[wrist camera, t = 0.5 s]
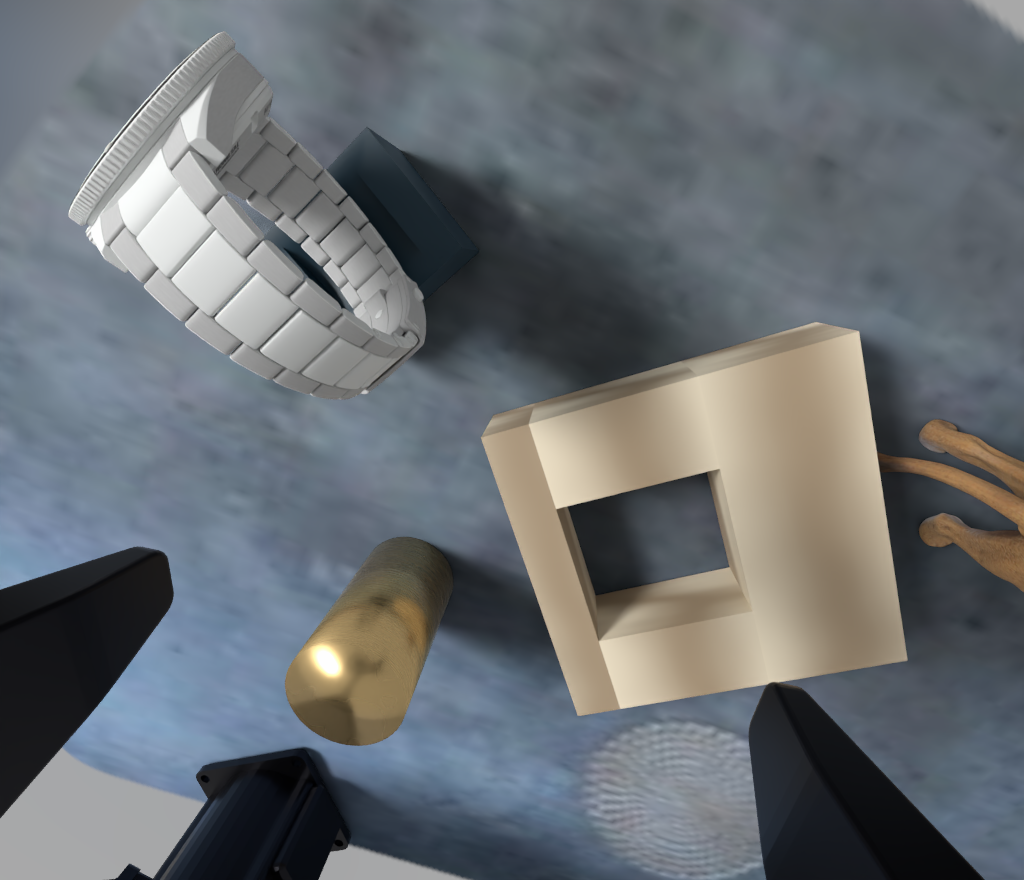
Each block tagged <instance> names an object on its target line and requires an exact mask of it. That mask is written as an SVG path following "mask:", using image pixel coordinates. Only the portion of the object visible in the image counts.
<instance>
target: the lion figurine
mask: <svg viewBox="0 0 1024 880" xmlns="http://www.w3.org/2000/svg"><path fill="white" fill-rule="evenodd" d="M919 440H920V442H921V443H922V445H923V446H925V447H926V448H928V449H929V450H931V451H934V452H938V453H944V452H946V451H947V452H948V453H950V454H951V455H953V456H955V457H957V458H959V459H960V460H962V461H965V462H967V463H970V464H973V465H975V466H978V467H980V468H982V469H984V470H986V471H988V472H990V473H991V474H993V475H995V476H996V477H998V478H999V479H1000V480H1002V481H1003V482H1004V483H1005V484H1006V485H1007V486H1008V487H1009V488H1010V489H1011V490H1012V491H1013V492H1014V494H1015V495H1016V496H1015V495H1013V494H1011V493H1010V492H1008V491H1006V490H1004V489H1002V488H1000V487H998V486H995V485H993V484H991V483H989V482H987V481H985V480H983V479H980V478H978V477H976V476H973V475H971V474H969V473H966V472H964V471H962V470H959V469H957V468H954V467H951V466H948V465H944V464H941V463H937V462H931V461H926V460H920V459H914V458H904V457H894V456H888V455H885V454H882V453H880V452H878V451H877V457H878V464H879V471H880V472H907V473H914V474H920V475H924V476H927V477H930V478H933V479H936V480H939V481H941V482H944V483H946V484H948V485H951V486H953V487H955V488H958V489H960V490H962V491H964V492H966V493H968V494H970V495H972V496H974V497H975V498H977V499H979V500H981V501H982V502H984V503H986V504H987V505H989V506H991V507H992V508H994V509H995V510H997V511H998V512H1000V513H1001V514H1003V515H1004V516H1006V517H1007V518H1009V519H1010V520H1012V521H1013V522H1015V523H1016V524H1017V525H1018V529H1019V531H1015V530H1000V531H985V530H980V529H974V528H970V527H969V526H967V525H966V524H964V523H963V522H962V521H961V519H959V518H958V517H956V516H954V515H949V514H946V513H941V514H939V515H936V516H933V517H929V518H927V519H925V520H924V521H923V522H922V523H921V525H920V527H919V534H920V537H921V539H922V540H923V541H924V542H925V543H926V544H927V545H929V546H936V547H944V546H947V545H949V544H951V543H952V542H954V543H955V544H957V545H958V546H959V547H961V548H962V549H963V550H964V551H966V552H967V553H968V554H969V555H970V556H971V557H972V558H974V559H975V560H976V561H977V562H978V563H979V564H980V565H982V566H983V567H984V568H985V569H987V570H988V571H990V572H991V573H993V574H994V575H996V576H998V577H1000V578H1002V579H1004V580H1006V581H1009V582H1011V583H1012V584H1014V585H1015V586H1016V587H1018V588H1019V589H1020V590H1022V591H1023V592H1024V462H1022V461H1019V460H1017V459H1015V458H1012V457H1010V456H1008V455H1006V454H1004V453H1002V452H1000V451H998V450H996V449H994V448H993V447H991V446H989V445H987V444H986V443H985V442H983V441H982V440H981V439H979V438H978V437H975V436H973V435H970V434H966V433H962V432H958V430H957V428H956V426H955V425H953V424H951V423H949V422H947V421H943V420H937V419H935V420H932V421H930V422H928V423H927V424H926V425H925V426H924V427H923V428H922V430H921V431H920V433H919Z"/></svg>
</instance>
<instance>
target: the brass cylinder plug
mask: <svg viewBox="0 0 1024 880" xmlns="http://www.w3.org/2000/svg"><path fill="white" fill-rule="evenodd" d="M452 590H453V573H452V570H451V567H450V565H449V563H448V561H447V560H446V558H445V557H444V556H443V555H442V553H441V552H440V551H438V550H437V549H436V548H435V547H433V546H432V545H430V544H429V543H427V542H424V541H422V540H419V539H416V538H411V537H397V538H392V539H389V540H387V541H385V542H382V543H381V544H380V545H378V546H377V547H376V548H375V549H374V550H373V551H372V552H371V554H370V555H369V557H368V558H367V559H366V561H365V562H364V563H363V565H362V566H361V568H360V569H359V570H358V572H357V573H356V574H355V576H354V577H353V579H352V580H351V581H350V583H349V584H348V586H347V587H346V588H345V590H344V591H343V592H342V594H341V595H340V597H339V598H338V599H337V601H336V602H335V604H334V605H333V606H332V608H331V609H330V610H329V612H328V613H327V615H326V616H325V617H324V619H323V620H322V622H321V623H320V624H319V626H318V627H317V628H316V630H315V631H314V633H313V634H312V635H311V637H310V638H309V640H308V641H307V642H306V644H305V645H304V646H303V648H302V649H301V651H300V652H299V653H298V655H297V656H296V657H295V659H294V660H293V662H292V663H291V665H290V667H289V669H288V671H287V674H286V680H285V689H286V695H287V698H288V701H289V704H290V706H291V708H292V709H293V711H294V713H295V714H296V715H297V717H298V718H299V719H300V720H301V721H302V722H303V723H304V724H305V725H306V726H307V727H308V728H309V729H311V730H312V731H313V732H315V733H316V734H318V735H320V736H322V737H324V738H326V739H328V740H331V741H333V742H337V743H340V744H345V745H353V746H362V745H369V744H374V743H377V742H380V741H382V740H384V739H386V738H388V737H389V736H390V735H392V734H393V733H394V732H395V731H396V730H397V729H398V728H399V726H400V725H401V723H402V721H403V719H404V716H405V714H406V711H407V708H408V706H409V703H410V701H411V698H412V695H413V693H414V690H415V688H416V685H417V682H418V680H419V677H420V674H421V672H422V669H423V667H424V664H425V661H426V659H427V656H428V654H429V651H430V648H431V646H432V643H433V640H434V638H435V635H436V633H437V630H438V627H439V625H440V622H441V619H442V617H443V614H444V612H445V609H446V606H447V604H448V601H449V599H450V596H451V593H452Z"/></svg>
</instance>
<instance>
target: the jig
mask: <svg viewBox="0 0 1024 880" xmlns="http://www.w3.org/2000/svg"><path fill="white" fill-rule="evenodd" d="M481 439H482V442H483V445H484V448H485V451H486V453H487V456H488V459H489V462H490V465H491V468H492V471H493V473H494V476H495V479H496V482H497V485H498V488H499V491H500V494H501V496H502V499H503V502H504V505H505V508H506V511H507V514H508V516H509V519H510V522H511V525H512V528H513V531H514V534H515V537H516V539H517V542H518V545H519V548H520V551H521V554H522V557H523V559H524V562H525V565H526V568H527V571H528V574H529V577H530V580H531V582H532V585H533V588H534V591H535V594H536V597H537V600H538V602H539V605H540V608H541V611H542V614H543V617H544V620H545V623H546V625H547V628H548V631H549V634H550V637H551V640H552V643H553V645H554V648H555V651H556V654H557V657H558V660H559V663H560V666H561V668H562V671H563V674H564V677H565V680H566V683H567V686H568V688H569V691H570V694H571V697H572V700H573V703H574V706H575V709H576V711H577V714H578V716H582V715H588V714H594V713H600V712H606V711H611V710H617V709H623V708H629V707H635V706H641V705H647V704H653V703H659V702H665V701H671V700H677V699H683V698H688V697H694V696H700V695H706V694H712V693H718V692H724V691H730V690H736V689H742V688H748V687H754V686H760V685H765V684H769V683H771V682H783V681H789V680H795V679H801V678H807V677H813V676H819V675H825V674H831V673H836V672H842V671H848V670H854V669H860V668H866V667H872V666H878V665H884V664H890V663H896V662H902V661H908V660H907V653H906V647H905V640H904V633H903V626H902V620H901V613H900V606H899V599H898V593H897V586H896V579H895V572H894V565H893V559H892V552H891V545H890V538H889V532H888V525H887V518H886V511H885V505H884V498H883V491H882V484H881V477H880V471H879V464H878V457H877V450H876V444H875V437H874V430H873V423H872V416H871V410H870V403H869V396H868V389H867V383H866V376H865V369H864V362H863V356H862V349H861V342H860V335H859V331H856V330H851V329H846V328H841V327H837V326H832V325H827V324H822V323H818V322H815V323H811V324H808V325H804V326H801V327H797V328H794V329H790V330H787V331H783V332H780V333H777V334H773V335H770V336H766V337H763V338H759V339H756V340H752V341H749V342H745V343H742V344H738V345H735V346H731V347H728V348H725V349H721V350H718V351H714V352H711V353H707V354H704V355H700V356H697V357H693V358H690V359H686V360H683V361H680V362H676V363H673V364H669V365H666V366H662V367H659V368H655V369H652V370H648V371H645V372H641V373H638V374H635V375H631V376H628V377H624V378H621V379H617V380H614V381H610V382H607V383H603V384H600V385H596V386H593V387H590V388H586V389H583V390H579V391H576V392H572V393H569V394H565V395H562V396H558V397H555V398H551V399H548V400H545V401H541V402H538V403H534V404H531V405H527V406H524V407H520V408H517V409H513V410H510V411H506V412H503V413H500V414H496V415H493V417H492V419H491V421H490V423H489V424H488V426H487V428H486V430H485V431H484V433H483V435H482V437H481ZM704 472H707V474H708V478H709V483H710V487H711V491H712V495H713V499H714V504H715V508H716V512H717V516H718V521H719V525H720V529H721V533H722V537H723V542H724V546H725V550H726V554H727V558H728V563H729V567H728V568H724V569H719V570H714V571H710V572H705V573H700V574H695V575H691V576H686V577H681V578H677V579H672V580H667V581H662V582H658V583H653V584H648V585H643V586H639V587H634V588H629V589H625V590H620V591H615V592H610V593H606V594H601V595H595V592H594V589H593V586H592V583H591V579H590V576H589V573H588V570H587V567H586V564H585V560H584V557H583V554H582V551H581V548H580V545H579V541H578V538H577V535H576V532H575V529H574V526H573V522H572V519H571V516H570V513H569V510H568V507H567V506H571V505H575V504H579V503H583V502H587V501H591V500H595V499H599V498H603V497H607V496H611V495H615V494H619V493H623V492H627V491H631V490H636V489H640V488H644V487H648V486H652V485H656V484H660V483H664V482H668V481H672V480H676V479H680V478H684V477H688V476H692V475H696V474H700V473H704Z"/></svg>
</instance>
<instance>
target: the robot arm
mask: <svg viewBox="0 0 1024 880" xmlns="http://www.w3.org/2000/svg"><path fill="white" fill-rule="evenodd" d="M173 596H174V591H173V585H172V579H171V574H170V568H169V562H168V558H167V556H166V555H165V553H164V552H162V551H159V550H155V549H150V548H145V547H133V548H129V549H126V550H123V551H120V552H117V553H114V554H110V555H107V556H104V557H101V558H98V559H95V560H92V561H88V562H85V563H82V564H79V565H76V566H73V567H70V568H67V569H63V570H60V571H57V572H54V573H51V574H48V575H45V576H42V577H38V578H35V579H32V580H29V581H26V582H23V583H20V584H16V585H13V586H10V587H7V588H4V589H1V590H0V818H1V817H2V816H3V815H4V813H5V812H6V811H7V810H8V809H9V808H10V806H11V805H12V804H13V803H14V802H15V801H16V799H17V798H18V797H19V796H20V795H21V794H22V792H23V791H24V790H25V789H26V788H27V787H28V786H29V785H30V783H31V782H32V781H33V780H34V779H35V778H36V776H37V775H38V774H39V773H40V772H41V771H42V770H43V768H44V767H45V766H46V765H47V764H48V763H49V762H50V760H51V759H52V758H53V757H54V756H55V754H56V753H57V752H58V751H59V750H60V749H61V748H62V747H63V745H64V744H65V743H66V742H67V741H68V740H69V738H70V737H71V736H72V735H73V734H74V733H75V732H76V730H77V729H78V728H79V727H80V726H81V725H82V724H83V722H84V721H85V720H86V719H87V718H88V717H89V715H90V714H91V713H92V712H93V711H94V709H95V708H96V707H97V706H98V705H99V703H100V702H101V701H102V700H103V698H104V697H105V696H106V695H107V693H108V692H109V691H110V689H111V688H112V687H113V685H114V684H115V683H116V681H117V680H118V679H119V677H120V676H121V674H122V673H123V672H124V670H125V669H126V668H127V666H128V665H129V664H130V662H131V661H132V659H133V658H134V657H135V655H136V654H137V653H138V651H139V650H140V648H141V647H142V646H143V644H144V643H145V642H146V640H147V639H148V637H149V636H150V635H151V633H152V632H153V631H154V629H155V628H156V626H157V625H158V624H159V622H160V621H161V620H162V618H163V617H164V616H165V614H166V613H167V611H168V610H169V608H170V606H171V604H172V601H173ZM749 747H750V756H751V764H752V773H753V782H754V791H755V799H756V808H757V817H758V826H759V834H760V843H761V850H762V857H763V864H764V870H765V875H766V880H984V879H983V877H982V876H981V875H980V874H979V873H978V872H977V871H976V870H975V869H974V868H973V867H972V866H971V865H970V864H969V863H968V862H967V861H966V860H965V858H964V857H963V856H962V855H961V854H960V853H959V852H958V851H957V850H956V849H955V848H954V847H953V846H952V845H951V844H950V843H949V842H948V841H947V840H946V838H945V837H944V836H943V835H942V834H941V833H940V832H939V831H938V830H937V829H936V828H935V827H934V826H933V825H932V824H931V823H930V822H929V821H928V820H927V818H926V817H925V816H924V815H923V814H922V813H921V812H920V811H919V810H918V809H917V808H916V807H915V806H914V805H913V804H912V803H911V802H910V801H909V800H908V798H907V797H906V796H905V795H904V794H903V793H902V792H901V791H900V790H899V789H898V788H897V787H896V786H895V785H894V784H893V783H892V782H891V781H890V780H889V778H888V777H887V776H886V775H885V774H884V773H883V772H882V771H881V770H880V769H879V768H878V767H877V766H876V765H875V764H874V763H873V762H872V761H871V760H870V758H869V757H868V756H867V755H866V754H865V753H864V752H863V751H862V750H861V749H860V748H859V747H858V746H857V745H856V744H855V743H854V742H853V741H852V739H851V738H850V737H849V736H848V735H847V734H846V733H845V732H844V731H843V730H842V729H841V728H840V727H839V726H838V725H837V724H836V723H835V722H834V721H833V719H832V718H831V717H830V716H829V715H828V714H827V713H826V712H825V711H824V710H823V709H822V708H821V707H820V706H819V705H818V704H817V703H816V702H815V701H814V699H813V698H812V697H811V696H810V695H809V694H808V693H807V692H806V691H804V690H803V689H802V688H799V687H797V686H792V685H788V684H783V683H778V682H771V683H769V684H768V685H767V686H766V687H765V689H764V691H763V694H762V696H761V698H760V701H759V703H758V705H757V708H756V710H755V712H754V715H753V717H752V720H751V722H750V727H749ZM196 778H197V781H198V782H199V784H200V786H201V787H202V789H203V791H204V792H205V794H206V796H207V797H208V800H207V802H206V803H205V804H204V806H203V807H202V809H201V810H200V812H199V813H198V815H197V816H196V817H195V819H194V820H193V822H192V823H191V825H190V826H189V828H188V829H187V830H186V832H185V833H184V835H183V836H182V838H181V839H180V841H179V842H178V843H177V845H176V846H175V848H174V849H173V851H172V852H171V854H170V855H169V857H168V858H167V859H166V861H165V862H164V864H163V865H162V866H161V868H160V869H159V871H158V872H157V874H156V875H155V877H154V878H153V879H152V878H150V877H148V876H146V875H144V874H142V873H141V872H139V871H140V869H139V868H137V867H135V866H134V865H132V864H129V865H128V866H127V867H126V868H125V869H124V871H123V872H122V873H121V874H120V876H119V877H118V878H116V879H111V880H318V879H319V877H320V874H321V872H322V869H323V867H324V865H325V863H326V860H327V858H328V855H329V853H330V852H331V851H339V850H344V849H346V848H347V847H348V844H349V842H350V839H351V836H350V833H349V831H348V829H347V827H346V825H345V824H344V822H343V820H342V818H341V816H340V814H339V812H338V810H337V808H336V806H335V804H334V802H333V801H332V799H331V797H330V795H329V793H328V791H327V789H326V787H325V785H324V783H323V781H322V779H321V778H320V776H319V774H318V772H317V770H316V768H315V766H314V764H313V762H312V760H311V758H310V756H309V755H308V753H307V752H305V751H304V750H301V749H294V750H289V751H283V752H277V753H272V754H266V755H260V756H254V757H249V758H243V759H237V760H232V761H226V762H220V763H214V764H209V765H205V766H203V767H202V768H201V769H200V771H199V772H198V773H197V775H196Z"/></svg>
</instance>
